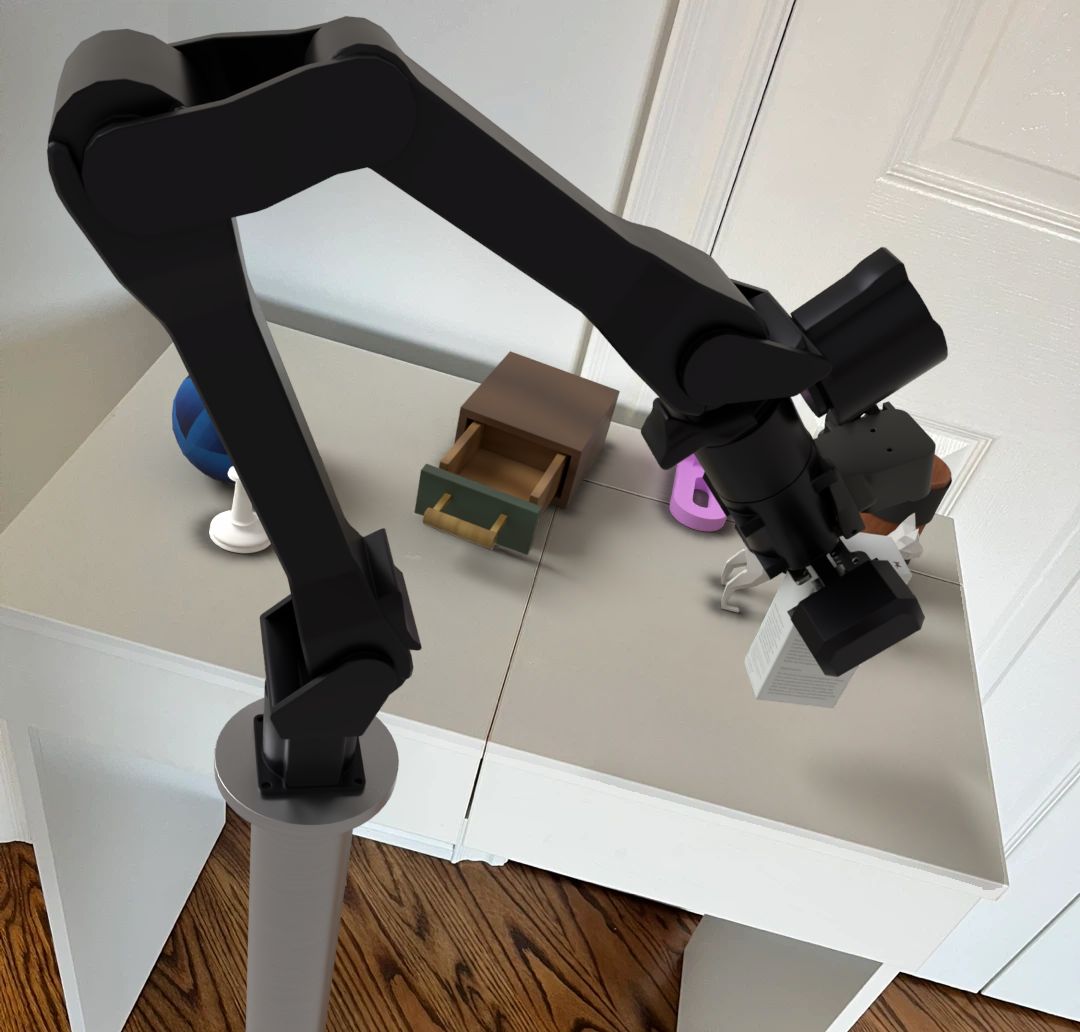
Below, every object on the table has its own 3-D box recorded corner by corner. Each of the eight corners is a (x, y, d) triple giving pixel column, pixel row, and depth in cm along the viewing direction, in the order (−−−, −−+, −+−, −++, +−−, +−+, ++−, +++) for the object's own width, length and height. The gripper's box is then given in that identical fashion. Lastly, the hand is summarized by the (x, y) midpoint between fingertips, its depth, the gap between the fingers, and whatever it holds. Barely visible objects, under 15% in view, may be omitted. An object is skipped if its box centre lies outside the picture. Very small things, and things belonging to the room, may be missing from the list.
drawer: (510, 582, 82) (521, 539, 79) (393, 538, 83) (399, 493, 80) (569, 487, 94) (580, 446, 91) (466, 448, 95) (474, 407, 92)
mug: (782, 517, 101) (830, 411, 93) (897, 556, 100) (956, 453, 92) (774, 563, 94) (825, 454, 86) (897, 605, 94) (960, 500, 86)
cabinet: (565, 509, 93) (582, 451, 89) (449, 465, 94) (460, 406, 90) (604, 445, 103) (620, 390, 99) (498, 406, 104) (510, 350, 100)
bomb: (310, 452, 91) (321, 288, 80) (275, 519, 83) (282, 346, 73) (201, 426, 90) (198, 256, 80) (156, 490, 82) (145, 311, 72)
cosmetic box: (817, 669, 74) (894, 535, 65) (833, 710, 71) (916, 576, 62) (740, 659, 72) (808, 521, 64) (753, 701, 69) (826, 562, 61)
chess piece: (211, 553, 78) (209, 439, 71) (207, 515, 81) (205, 402, 74) (276, 553, 80) (281, 442, 73) (270, 516, 83) (274, 406, 76)
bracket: (678, 455, 105) (700, 393, 100) (730, 470, 105) (754, 410, 100) (666, 520, 96) (689, 456, 91) (723, 537, 96) (749, 474, 91)
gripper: (987, 475, 48) (1036, 646, 59) (818, 296, 60) (886, 466, 71) (779, 601, 51) (865, 741, 62) (658, 406, 63) (748, 553, 74)
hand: (842, 614), depth 67 cm, fingers closed on cosmetic box, 4 cm apart
